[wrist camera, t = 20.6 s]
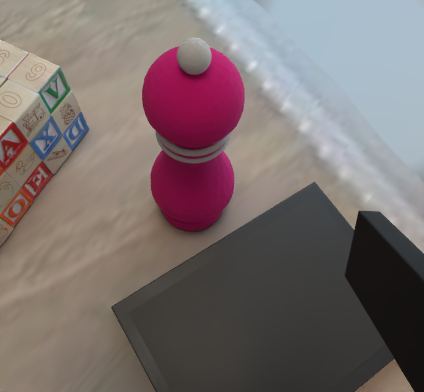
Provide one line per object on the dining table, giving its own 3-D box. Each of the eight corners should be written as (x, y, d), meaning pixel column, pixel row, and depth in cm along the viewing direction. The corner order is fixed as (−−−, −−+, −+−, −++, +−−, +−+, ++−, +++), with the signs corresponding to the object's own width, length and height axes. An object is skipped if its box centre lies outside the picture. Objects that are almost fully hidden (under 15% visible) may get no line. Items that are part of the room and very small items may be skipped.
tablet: (215, 500, 28) (216, 506, 26) (113, 308, 33) (110, 306, 31) (425, 327, 33) (433, 326, 32) (311, 186, 38) (315, 181, 37)
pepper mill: (139, 202, 37) (87, 42, 18) (191, 155, 39) (191, -29, 21) (193, 252, 35) (197, 132, 17) (244, 199, 37) (297, 43, 19)
